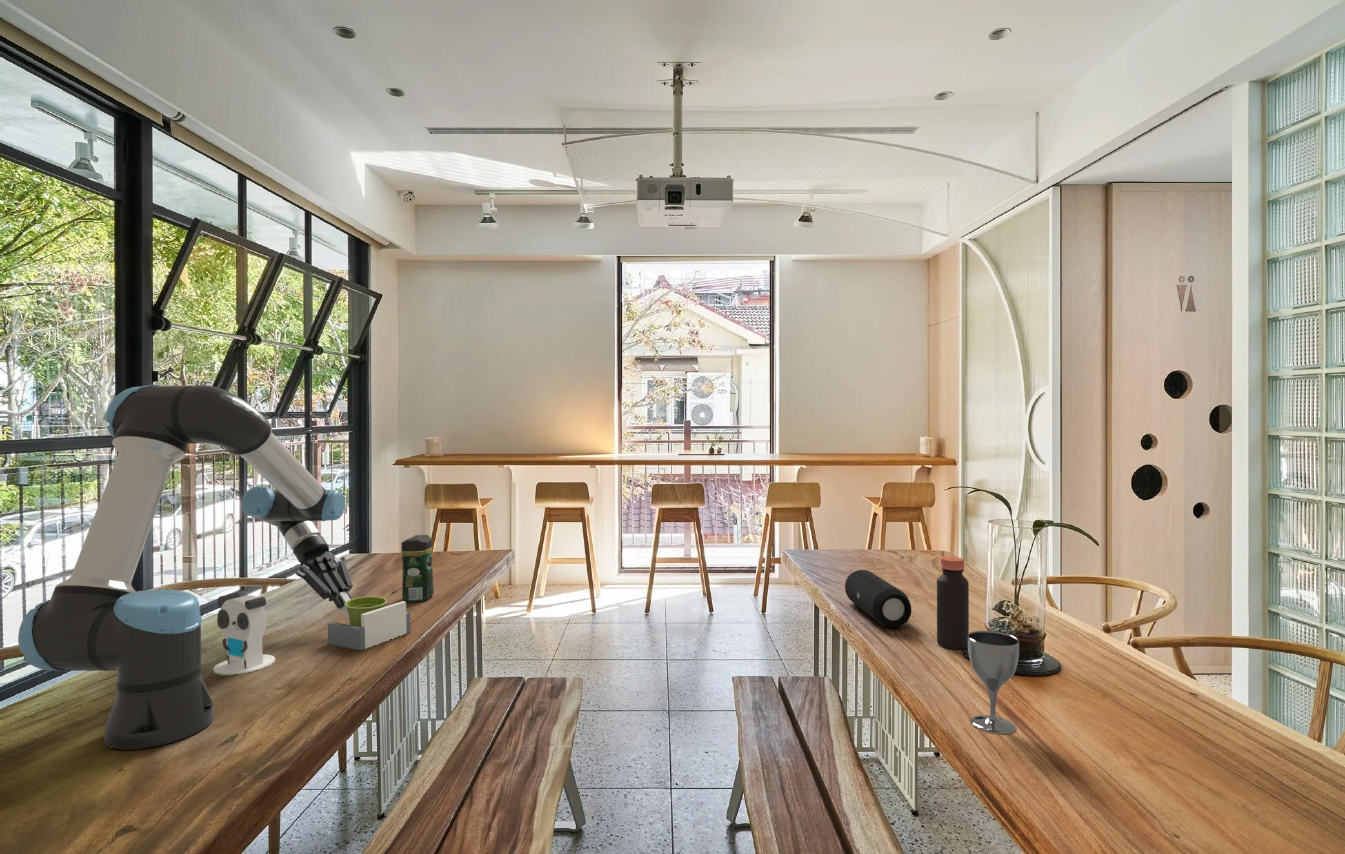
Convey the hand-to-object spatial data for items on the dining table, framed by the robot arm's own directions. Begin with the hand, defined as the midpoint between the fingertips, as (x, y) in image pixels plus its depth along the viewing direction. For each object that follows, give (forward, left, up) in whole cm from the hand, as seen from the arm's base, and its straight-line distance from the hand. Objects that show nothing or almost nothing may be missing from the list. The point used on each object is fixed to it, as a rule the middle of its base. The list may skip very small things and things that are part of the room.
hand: (353, 615), depth 167 cm
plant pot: (0, -5, -5) cm, 7 cm away
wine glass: (+14, -143, -5) cm, 144 cm away
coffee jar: (+31, +11, -5) cm, 33 cm away
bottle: (+54, -134, -5) cm, 144 cm away
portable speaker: (+70, -114, -5) cm, 134 cm away
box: (0, -6, -5) cm, 8 cm away
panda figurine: (-24, +4, -5) cm, 25 cm away
